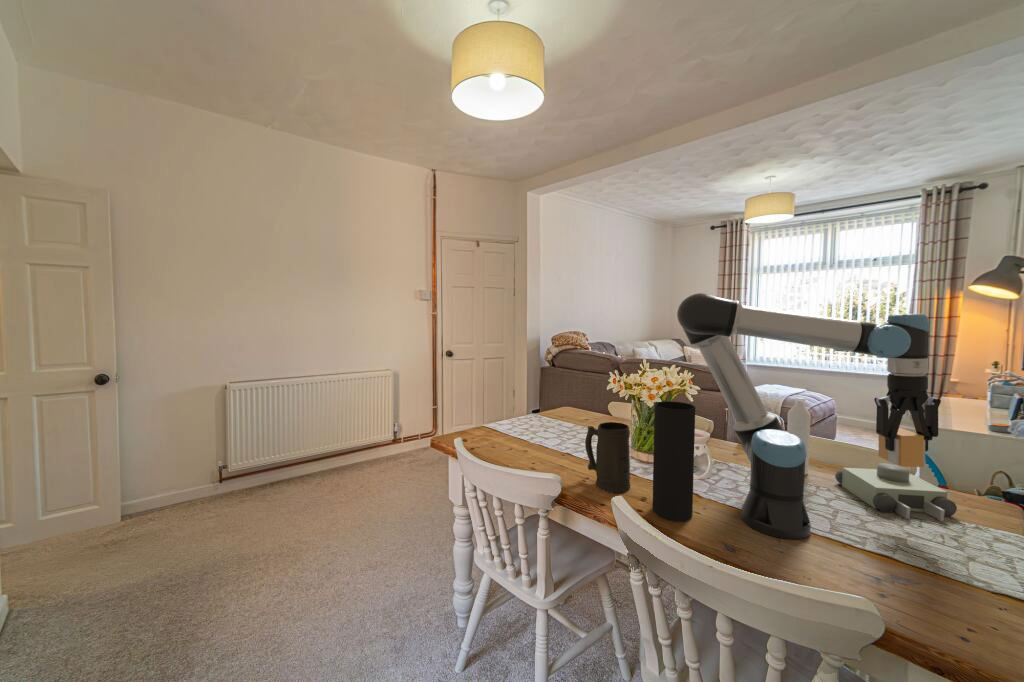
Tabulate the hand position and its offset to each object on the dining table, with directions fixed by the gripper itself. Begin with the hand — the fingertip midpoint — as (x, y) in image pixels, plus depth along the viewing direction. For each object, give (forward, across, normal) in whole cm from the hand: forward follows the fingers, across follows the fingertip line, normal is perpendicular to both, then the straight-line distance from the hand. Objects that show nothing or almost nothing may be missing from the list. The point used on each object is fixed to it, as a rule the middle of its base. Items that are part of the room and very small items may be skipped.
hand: (906, 462), depth 106 cm
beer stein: (+13, -76, +11) cm, 78 cm away
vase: (+14, -59, -4) cm, 61 cm away
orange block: (0, 0, +2) cm, 2 cm away
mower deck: (+16, +6, +13) cm, 22 cm away
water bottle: (+15, -10, +34) cm, 38 cm away
